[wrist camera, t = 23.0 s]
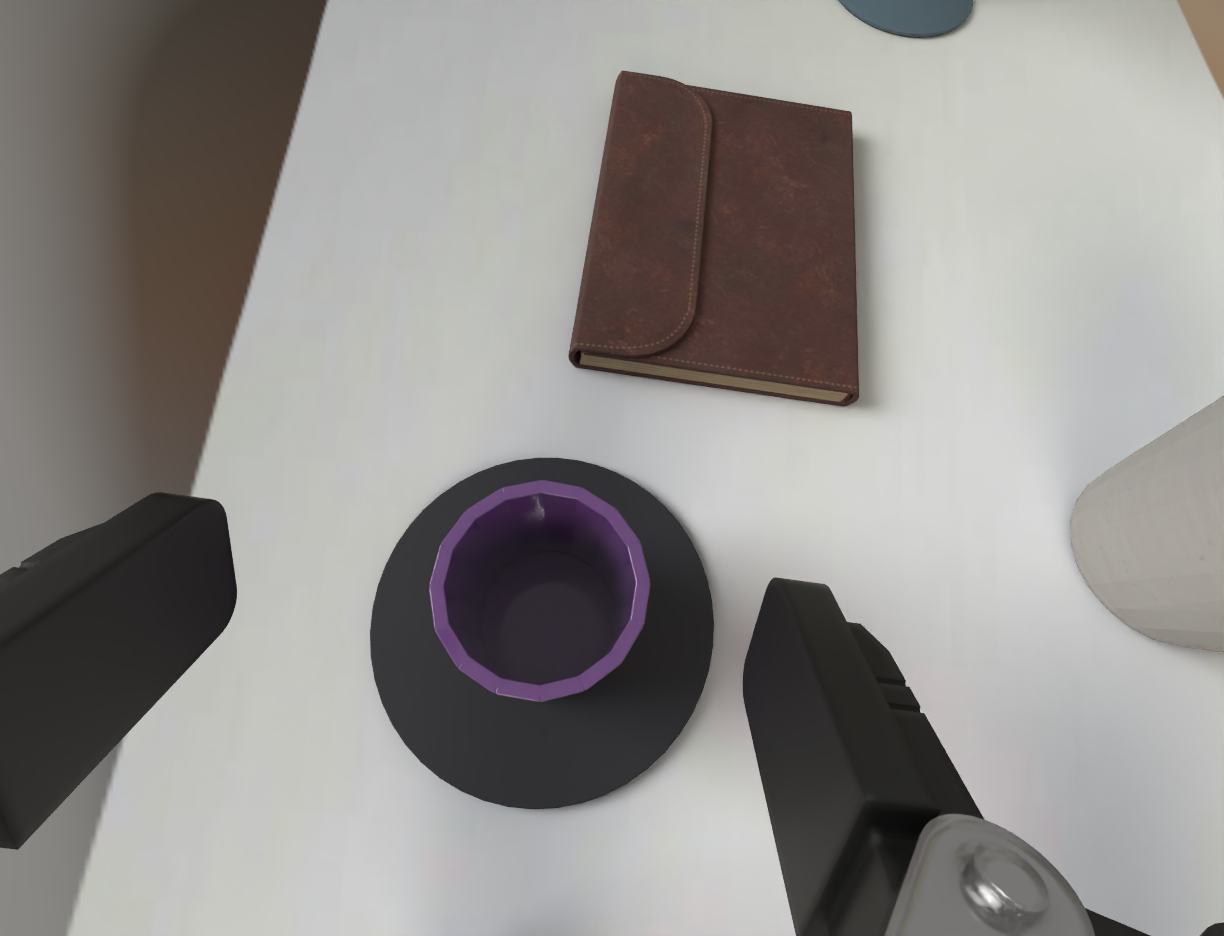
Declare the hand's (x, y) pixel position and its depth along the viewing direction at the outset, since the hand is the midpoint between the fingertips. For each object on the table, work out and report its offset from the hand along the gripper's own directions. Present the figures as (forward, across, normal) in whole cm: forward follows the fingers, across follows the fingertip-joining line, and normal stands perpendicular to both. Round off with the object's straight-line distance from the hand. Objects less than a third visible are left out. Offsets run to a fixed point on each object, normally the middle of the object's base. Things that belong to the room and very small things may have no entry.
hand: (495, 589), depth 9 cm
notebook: (+30, -7, -4) cm, 31 cm away
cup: (+14, 0, +12) cm, 18 cm away
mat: (+14, 0, +12) cm, 19 cm away
